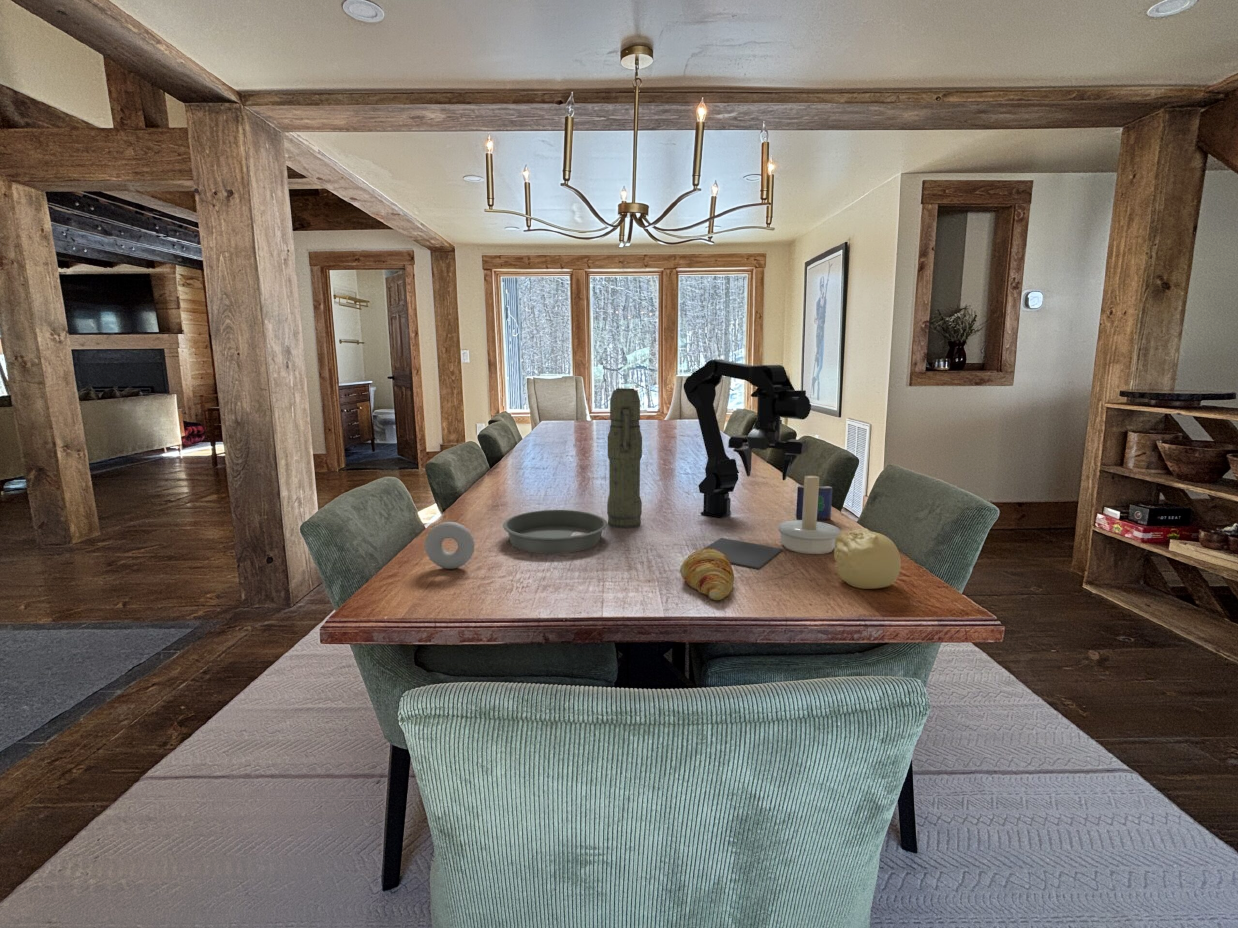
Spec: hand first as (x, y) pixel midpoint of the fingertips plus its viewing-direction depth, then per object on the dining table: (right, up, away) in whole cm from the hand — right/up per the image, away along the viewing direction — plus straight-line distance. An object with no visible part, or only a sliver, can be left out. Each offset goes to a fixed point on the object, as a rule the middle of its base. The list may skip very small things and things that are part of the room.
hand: (765, 478), depth 155 cm
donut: (-72, -18, -28) cm, 79 cm away
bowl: (+7, -16, -13) cm, 21 cm away
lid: (+7, -12, -13) cm, 19 cm away
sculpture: (+11, -20, -35) cm, 42 cm away
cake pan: (-52, -15, -8) cm, 55 cm away
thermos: (-36, -12, +6) cm, 38 cm away
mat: (-10, -16, -18) cm, 26 cm away
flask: (+15, -12, +11) cm, 22 cm away
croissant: (-20, -20, -35) cm, 45 cm away
